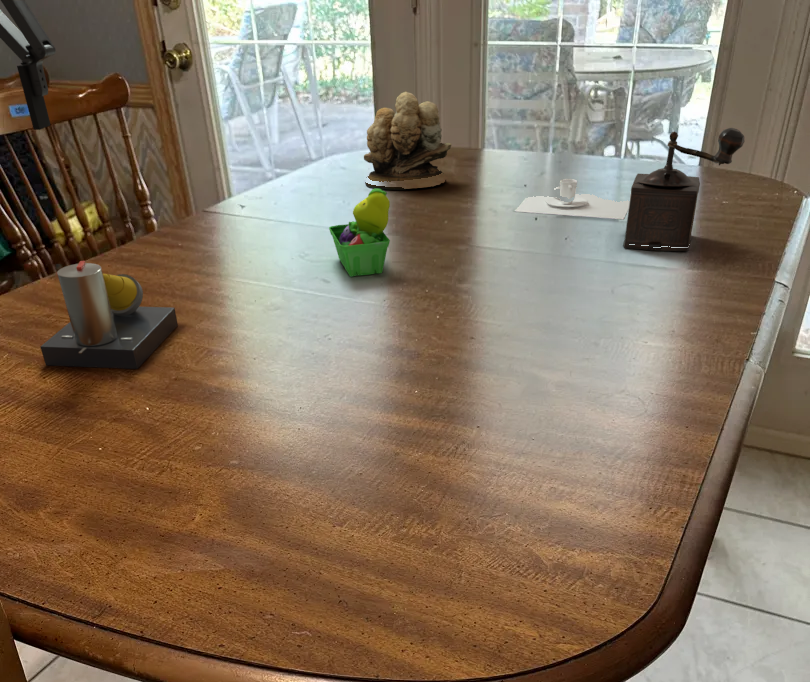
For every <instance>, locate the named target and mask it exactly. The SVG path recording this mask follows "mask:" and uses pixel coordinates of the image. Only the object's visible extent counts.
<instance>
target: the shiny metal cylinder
mask: <svg viewBox="0 0 810 682" xmlns="http://www.w3.org/2000/svg"><path fill="white" fill-rule="evenodd" d="M56 274H57V279H58V281H59V285H60V288H61V293H62V296H63V299H64V300H63V301H64V303H65V307H66V311H67V315H68V318H69V322H71V326H72V329H73V333H74V337H75V340H76V343H78V344H79V345H83V346H98V345H103V344H106V343H109V342H111V341H113V340H115V339H116V338H117V331H116V327H115V323H114V318H113V314H112V310H111V306H110V302H109V298H108V293H107V289H106V285H105V281H104V277H103V274H104V273H103V268H102V266H101V265H99V264H98V263H93V262H92V263H91V262H86V261H85V260H80V261H79V262H78V263H75V264H70V265H65V266H64V267H62V268H60V269H58V270H57V272H56Z"/></svg>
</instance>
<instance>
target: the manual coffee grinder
mask: <svg viewBox="0 0 810 682" xmlns="http://www.w3.org/2000/svg"><path fill="white" fill-rule="evenodd" d="M678 137H679V134H678V132H677V131H672V132H671V133H670V134H669V141H668V143H667V145H666V146H667V147H668V151H667V158H666V161H665V162H666V163H665V165H664V167H662V168H658V169H656V170H653V171H652V172H650V173H636V175H635V178H634V180H633V183H632V184H631V186H630V187H631V188H630V191H631V194H630V202H629V209H628V211H627V218H626V227H625V234H624V240H623V243H622V247H623V248H624V249H628V250H629V249H630V250H642V251H653V252H654V251H656V252H661V251H665V252H688V251H689V249H690V247H691V243H692V232H693V227H694V221H695V215H696V208H697V202H698V195H699V192H700V186H701V182H700V177H699V176H690V175H687V174H686V173H684V172H683V171H682V170H679V169H677V168H674V165H673V161H674V157H675V156H674V155H675V150H676V151H678V152H680V153H681V154H685V155H689V156H692V157H693V156H694V157H697V158H701V159H703V160H707V161H710V162H712V163H714V164H718V166H721V165H729V164H732V162H733V160H732V159H733V155H734V154H735V153H736V152H737V151H738V150H739V149H741V148H742V147H743V146H744V144H745V140H746V139H745V135H744V134H743V133H742V131H741V130H739V129H737V128H734V127H727V128H725V129H722V131H721V132H720V133H719V135H718V139H717V140H718V141H717V142H718V150H717V152H716V153H715V154H714V155H713V154H710V153H708V152H705V151H702V150H698V149H693V148H689V147H684V146H681V145H678V142H677V140H678ZM690 239H691V241H690ZM629 244H635V245H629ZM689 244H690V245H689ZM641 245H649V246H641ZM661 246H668V247H661ZM669 246H670V247H669ZM688 246H689V248H671V247H688ZM653 247H661V248H653Z"/></svg>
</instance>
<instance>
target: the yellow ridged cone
mask: <svg viewBox="0 0 810 682" xmlns="http://www.w3.org/2000/svg"><path fill="white" fill-rule="evenodd" d="M103 277H104V281H105V285H106V289H107V293H108V298H109V302H110V306H111V310H112V313H113V314H115V315H117V316H126V315H129V314H131V313H133V312H134V311H136V310H137V309H138V307H141V304H142V302H143V298H144V291H143V287H142V285H141V284H140V283H139V281H138V280H136V279H135V278H134V276H132V275H129V274H125V273H120V274H115V275H114V274H109V273H103Z"/></svg>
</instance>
